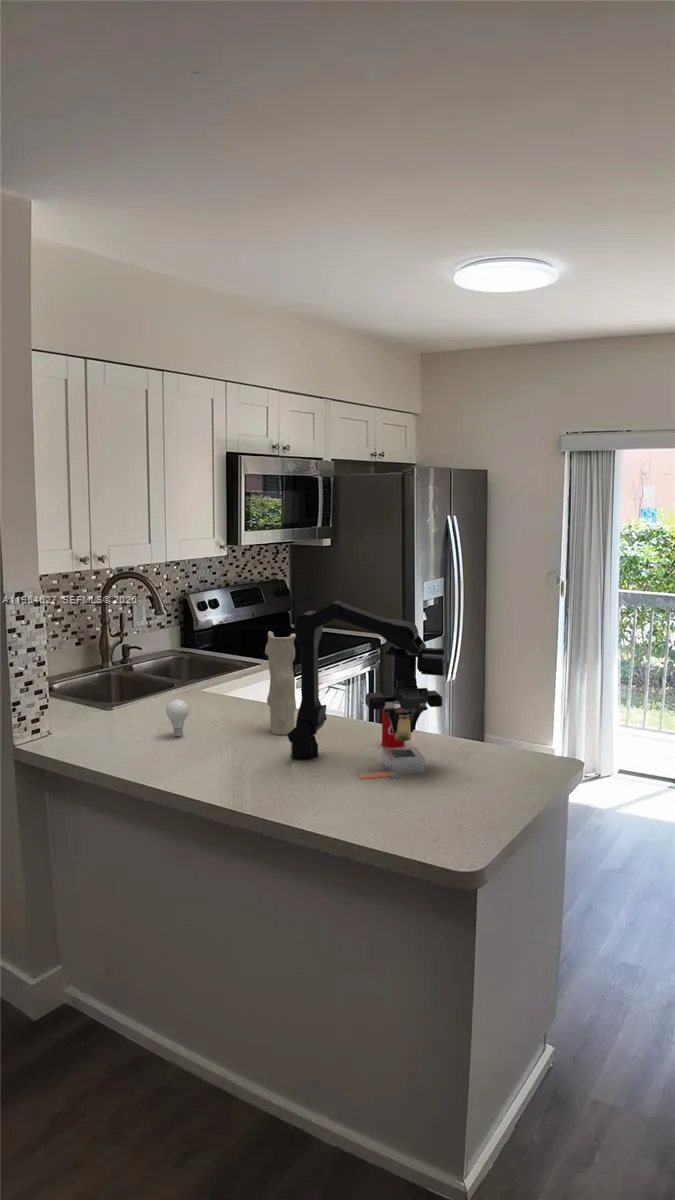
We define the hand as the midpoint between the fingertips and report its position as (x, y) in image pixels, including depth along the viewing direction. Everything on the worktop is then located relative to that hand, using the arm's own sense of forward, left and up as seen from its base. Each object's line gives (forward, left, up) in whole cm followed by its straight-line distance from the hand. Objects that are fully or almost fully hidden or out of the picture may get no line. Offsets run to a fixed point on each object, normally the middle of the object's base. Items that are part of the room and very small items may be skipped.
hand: (403, 732), depth 210 cm
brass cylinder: (0, 0, -2) cm, 2 cm away
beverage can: (+2, +19, -11) cm, 22 cm away
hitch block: (0, 0, -10) cm, 10 cm away
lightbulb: (-57, +37, -11) cm, 69 cm away
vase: (-27, +37, -11) cm, 47 cm away
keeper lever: (-8, -5, -10) cm, 13 cm away
